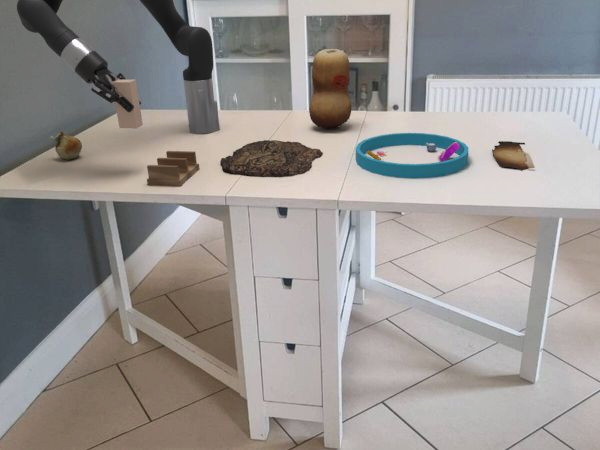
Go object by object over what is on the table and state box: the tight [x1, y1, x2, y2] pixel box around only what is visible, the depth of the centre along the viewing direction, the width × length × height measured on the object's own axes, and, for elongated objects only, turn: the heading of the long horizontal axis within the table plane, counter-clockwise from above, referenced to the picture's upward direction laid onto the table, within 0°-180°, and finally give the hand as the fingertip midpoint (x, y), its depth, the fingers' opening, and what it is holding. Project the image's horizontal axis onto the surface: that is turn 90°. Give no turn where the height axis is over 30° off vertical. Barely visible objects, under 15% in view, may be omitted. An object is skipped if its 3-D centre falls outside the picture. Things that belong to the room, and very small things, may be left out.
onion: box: [50, 131, 83, 161], centre depth 173 cm, size 8×8×8 cm
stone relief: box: [219, 139, 324, 178], centre depth 166 cm, size 26×4×30 cm
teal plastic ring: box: [355, 132, 469, 179], centre depth 160 cm, size 30×30×6 cm
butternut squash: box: [308, 48, 352, 130], centre depth 190 cm, size 14×13×25 cm
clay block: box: [112, 79, 144, 129], centre depth 154 cm, size 4×5×12 cm
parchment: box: [491, 140, 536, 172], centre depth 161 cm, size 25×10×1 cm, turn 167°
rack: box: [146, 150, 200, 187], centre depth 155 cm, size 14×9×5 cm, turn 168°
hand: (135, 107), depth 154 cm, fingers closed on clay block, 3 cm apart
